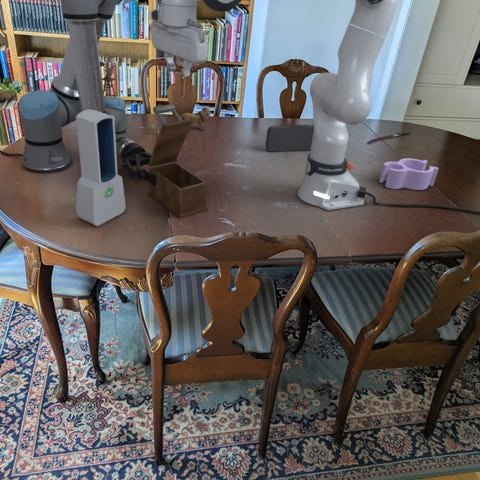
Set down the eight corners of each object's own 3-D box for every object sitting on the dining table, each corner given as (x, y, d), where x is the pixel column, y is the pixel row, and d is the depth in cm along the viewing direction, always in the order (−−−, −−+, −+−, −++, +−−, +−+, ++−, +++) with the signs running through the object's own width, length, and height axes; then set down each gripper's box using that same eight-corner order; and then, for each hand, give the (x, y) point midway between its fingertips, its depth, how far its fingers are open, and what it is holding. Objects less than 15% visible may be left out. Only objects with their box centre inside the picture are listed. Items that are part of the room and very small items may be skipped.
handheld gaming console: (315, 147, 196) (319, 124, 190) (317, 149, 194) (322, 126, 188) (264, 149, 189) (267, 125, 183) (266, 152, 187) (269, 127, 181)
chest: (205, 209, 143) (207, 182, 138) (179, 217, 138) (180, 189, 133) (174, 187, 154) (175, 161, 149) (149, 193, 148) (148, 167, 143)
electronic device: (94, 228, 128) (85, 122, 112) (75, 219, 131) (63, 114, 115) (126, 211, 138) (122, 111, 121) (108, 203, 141) (101, 104, 124)
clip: (392, 192, 166) (397, 174, 162) (373, 176, 175) (377, 159, 172) (437, 188, 172) (443, 171, 168) (416, 174, 182) (422, 157, 178)
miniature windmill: (115, 134, 188) (111, 55, 172) (96, 130, 189) (89, 52, 173) (124, 127, 195) (121, 51, 179) (105, 123, 196) (100, 48, 180)
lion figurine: (207, 125, 206) (208, 105, 201) (211, 129, 202) (212, 109, 197) (174, 126, 201) (175, 106, 196) (177, 131, 197) (178, 110, 192)
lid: (192, 120, 135) (178, 99, 137) (164, 126, 129) (149, 103, 132) (175, 160, 149) (163, 140, 151) (149, 166, 143) (136, 145, 145)
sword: (405, 131, 223) (406, 129, 223) (410, 133, 221) (411, 131, 221) (362, 143, 208) (363, 140, 207) (367, 145, 206) (368, 143, 205)
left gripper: (158, 156, 167) (196, 179, 154) (101, 169, 154) (138, 196, 141) (158, 136, 163) (197, 158, 150) (99, 148, 150) (137, 174, 137)
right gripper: (214, 23, 114) (211, 81, 121) (166, 10, 126) (166, 63, 133) (193, 24, 110) (192, 84, 118) (146, 10, 122) (147, 65, 130)
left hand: (168, 177), depth 146 cm, fingers closed on chest, 10 cm apart
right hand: (178, 73), depth 126 cm, fingers open, 5 cm apart
